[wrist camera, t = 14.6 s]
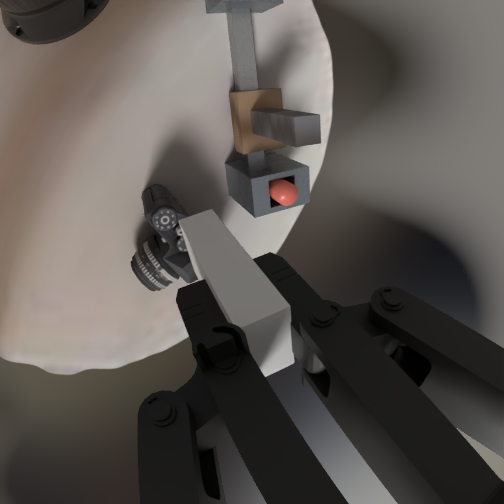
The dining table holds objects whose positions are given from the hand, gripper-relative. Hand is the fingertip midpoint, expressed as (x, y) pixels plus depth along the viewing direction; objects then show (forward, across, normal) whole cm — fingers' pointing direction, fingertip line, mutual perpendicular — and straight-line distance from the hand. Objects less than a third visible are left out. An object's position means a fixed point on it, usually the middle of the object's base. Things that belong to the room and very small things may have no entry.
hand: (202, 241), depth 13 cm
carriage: (+28, +14, 0) cm, 31 cm away
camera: (+28, -2, -14) cm, 31 cm away
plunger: (+22, +14, -9) cm, 27 cm away
